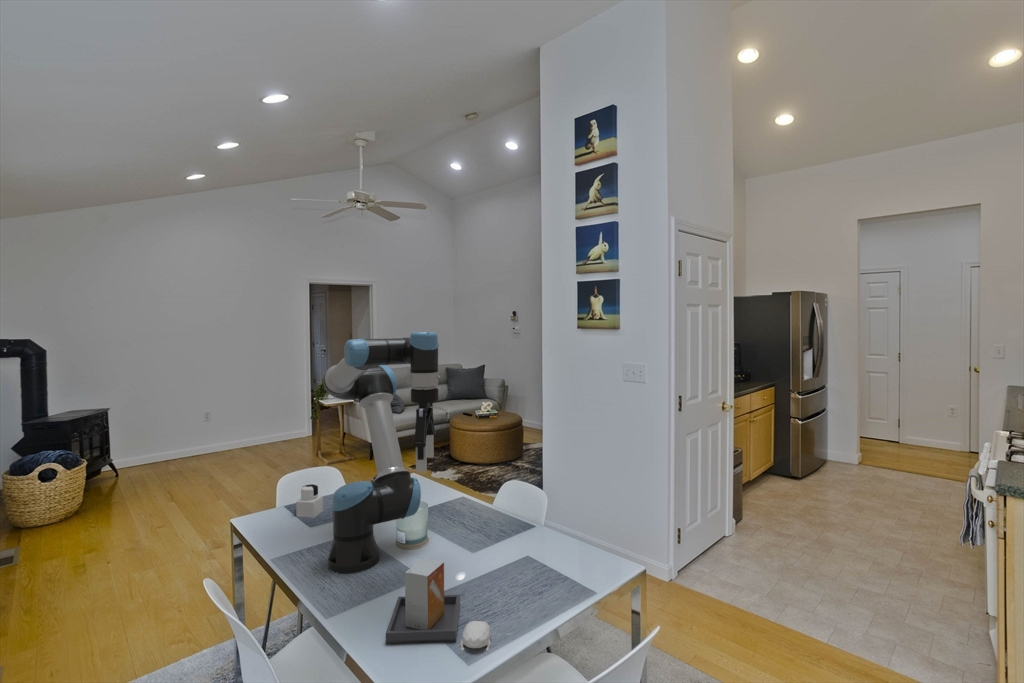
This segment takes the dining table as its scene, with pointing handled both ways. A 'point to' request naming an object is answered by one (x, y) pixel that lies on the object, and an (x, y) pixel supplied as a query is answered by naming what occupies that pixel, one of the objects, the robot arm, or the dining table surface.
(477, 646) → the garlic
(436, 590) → the small box
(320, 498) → the medicine bottle
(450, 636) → the holder
